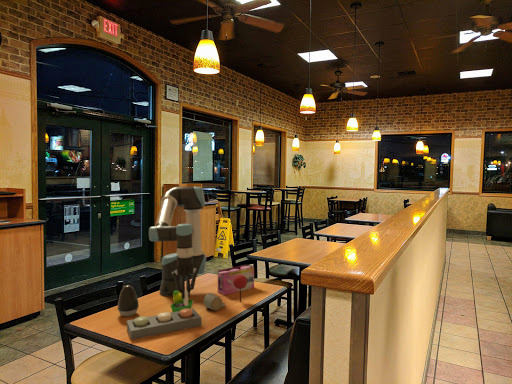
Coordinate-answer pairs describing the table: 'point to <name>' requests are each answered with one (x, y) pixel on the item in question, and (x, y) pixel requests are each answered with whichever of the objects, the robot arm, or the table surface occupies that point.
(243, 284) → the lollipop
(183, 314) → the terracotta button
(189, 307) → the fruit basket
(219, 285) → the gum box
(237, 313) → the table surface
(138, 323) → the sage button
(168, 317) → the cream button
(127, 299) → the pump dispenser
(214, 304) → the ceramic mug
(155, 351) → the table surface
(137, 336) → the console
